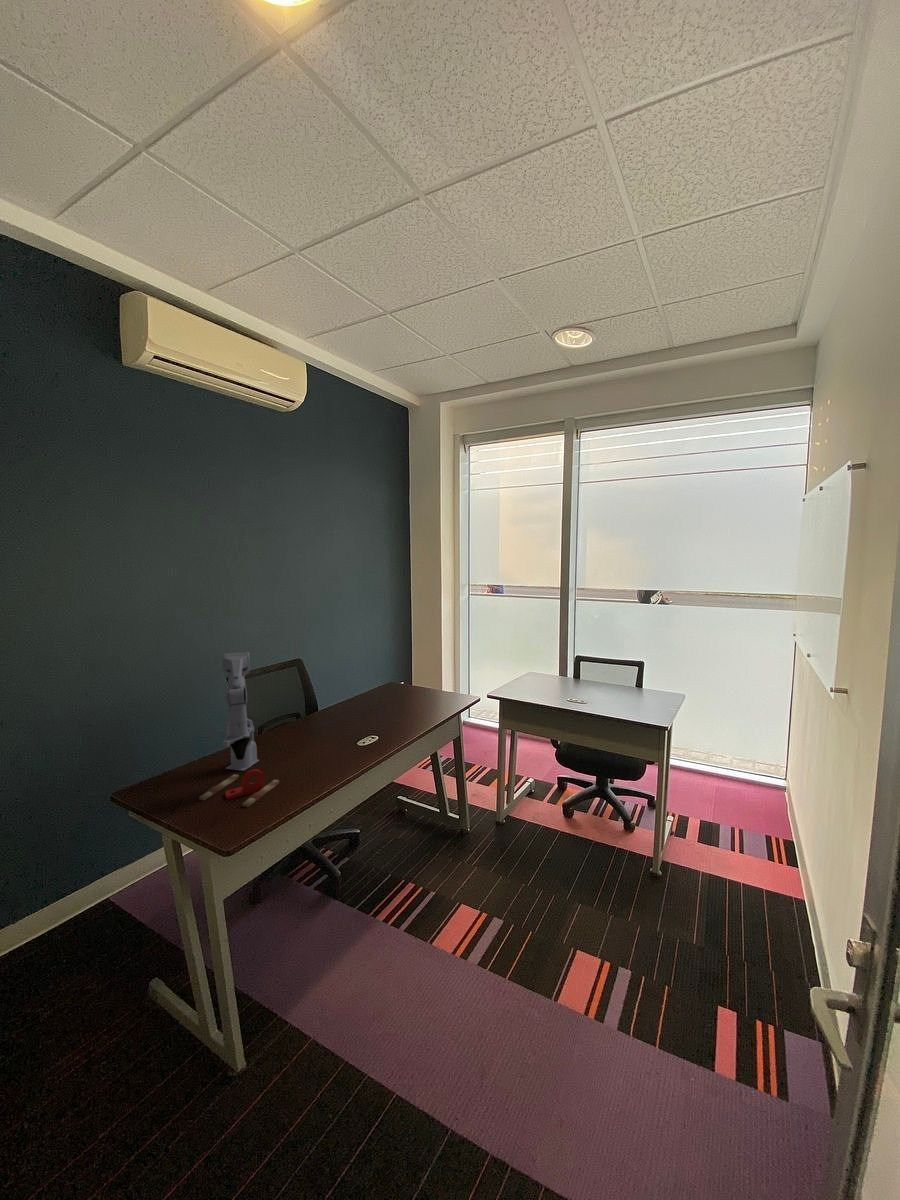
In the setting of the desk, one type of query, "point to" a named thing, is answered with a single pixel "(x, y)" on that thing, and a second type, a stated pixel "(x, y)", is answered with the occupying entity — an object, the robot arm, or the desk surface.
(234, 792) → the bracket
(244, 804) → the guide track
